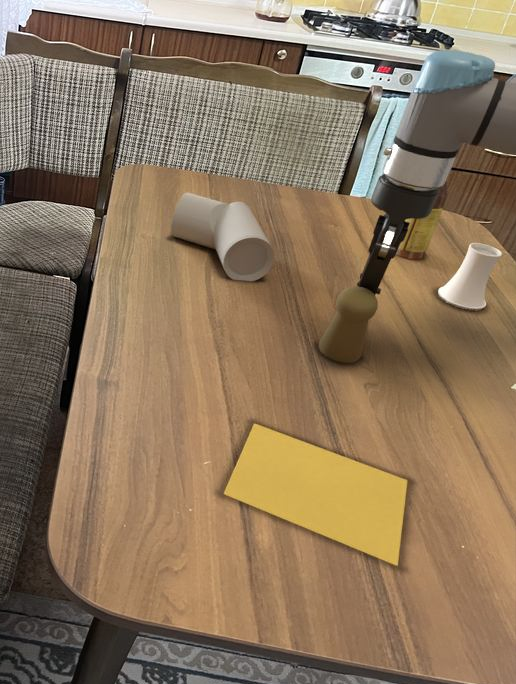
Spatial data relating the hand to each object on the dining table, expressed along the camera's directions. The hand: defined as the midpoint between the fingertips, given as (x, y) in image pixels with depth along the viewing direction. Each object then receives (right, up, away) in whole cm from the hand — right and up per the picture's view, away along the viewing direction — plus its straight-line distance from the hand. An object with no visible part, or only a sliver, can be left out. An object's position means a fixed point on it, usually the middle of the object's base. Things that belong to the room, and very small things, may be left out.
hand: (348, 331), depth 102 cm
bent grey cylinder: (-14, +14, +22) cm, 29 cm away
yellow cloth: (-15, -18, -25) cm, 35 cm away
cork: (-2, -3, -2) cm, 4 cm away
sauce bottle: (+24, +16, +31) cm, 42 cm away
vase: (+26, +5, +16) cm, 31 cm away
